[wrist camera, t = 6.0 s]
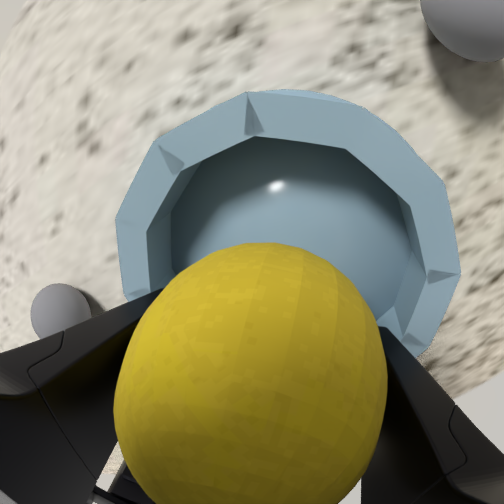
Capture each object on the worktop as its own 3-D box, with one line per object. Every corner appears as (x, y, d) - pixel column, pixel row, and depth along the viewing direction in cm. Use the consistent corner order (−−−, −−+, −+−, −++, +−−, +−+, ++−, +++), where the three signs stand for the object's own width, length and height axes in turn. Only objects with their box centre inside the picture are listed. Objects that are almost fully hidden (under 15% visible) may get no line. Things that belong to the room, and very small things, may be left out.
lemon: (398, 245, 9) (490, 520, 2) (319, 368, 11) (294, 580, 4) (223, 172, 9) (-13, 374, 2) (181, 315, 12) (67, 505, 4)
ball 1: (107, 331, 17) (75, 371, 14) (63, 315, 17) (30, 349, 14) (97, 279, 15) (56, 317, 12) (51, 266, 16) (10, 298, 13)
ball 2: (489, 78, 8) (542, 76, 5) (406, 50, 8) (441, 29, 5) (490, 2, 6) (535, -20, 3) (408, -29, 7) (436, -69, 4)
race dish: (387, 377, 14) (392, 420, 12) (156, 335, 16) (132, 372, 14) (467, 128, 9) (505, 138, 7) (148, 85, 11) (106, 83, 8)
